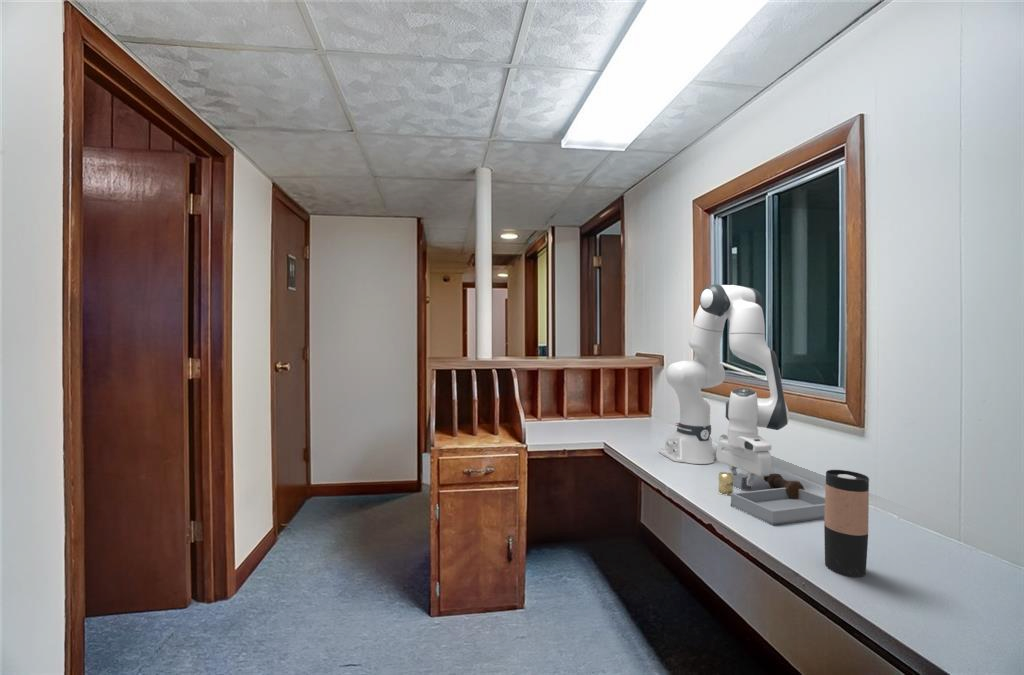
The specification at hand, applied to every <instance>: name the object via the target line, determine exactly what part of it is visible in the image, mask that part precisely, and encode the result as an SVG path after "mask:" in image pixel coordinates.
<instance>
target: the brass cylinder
mask: <svg viewBox="0 0 1024 675" xmlns="http://www.w3.org/2000/svg"><path fill="white" fill-rule="evenodd" d="M733 490H734V487H733V474H731V472H726V471H721V472H720V471H719V473H718V493H719V492H720V493H722V494H721V495H723V494H727V495H726V496H731V495H730V494H731V493H734V491H733ZM720 493H719V494H720Z"/></svg>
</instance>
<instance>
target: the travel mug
mask: <svg viewBox="0 0 1024 675" xmlns="http://www.w3.org/2000/svg"><path fill="white" fill-rule="evenodd" d="M869 487H870V477H868V476H867V475H866V474H863V473H860V472H855V471H852V470H844V469H827V470H826V472H825V488H824V489H825V492H824V494H825V495H824V497H825V518H823V519H824V522H823V523H824V525H823V527H824V530H823V531H824V534H823V536H824V564H825V567H826V566H827V567H828V568H827V567H826V568H827V569H829V570H830V569H831V571H832V570H833V571H832V572H834V573H836V574H839V575H842V576H845V575H846V576H845V577H850V576H851V577H852V578H860V577H864V576H866V572H867V562H868V561H867V558H868V543H869V508H870V506H869V505H870V504H869V502H870V501H869V500H870V499H869V496H870V495H869V494H870V493H869V491H870V490H869V489H870V488H869Z"/></svg>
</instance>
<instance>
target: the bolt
mask: <svg viewBox="0 0 1024 675" xmlns="http://www.w3.org/2000/svg"><path fill="white" fill-rule="evenodd" d="M763 480H764V481H765V483H767V484H768V485H769V487H770V489H777V488H787V489H786V492H787V494H788V496H789V498H790V499H799V492H798V489H803V490H805V488H804V486H803V484H802V483H801V481H799V480H786V479H784V478H783V476H782V475H781V474H779V473H771V474H770V475H769V476H765V477H763Z"/></svg>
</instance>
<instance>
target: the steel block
mask: <svg viewBox="0 0 1024 675" xmlns="http://www.w3.org/2000/svg"><path fill="white" fill-rule="evenodd" d="M748 476H749V475H747V474H744V473H737V474H733V486H734V487H733V488H735V487H736V488H735V489H737V488H739V489H741V490H740V491H743V490H742V489H748V490H752V486H748V485H745V479H747V478H748ZM739 489H738V490H739Z"/></svg>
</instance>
